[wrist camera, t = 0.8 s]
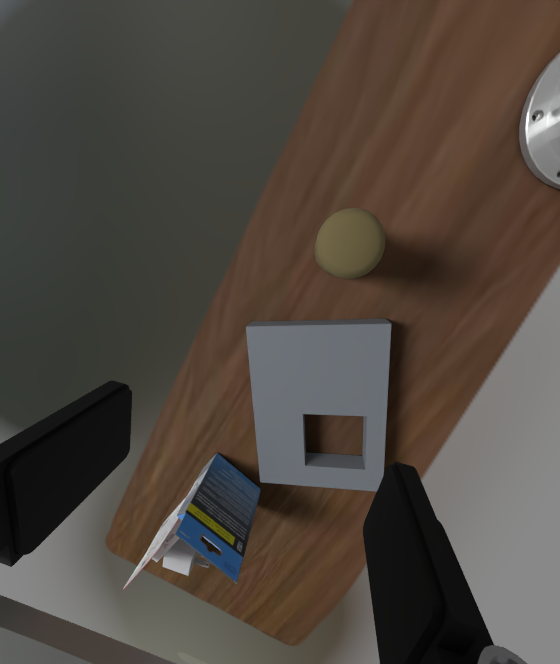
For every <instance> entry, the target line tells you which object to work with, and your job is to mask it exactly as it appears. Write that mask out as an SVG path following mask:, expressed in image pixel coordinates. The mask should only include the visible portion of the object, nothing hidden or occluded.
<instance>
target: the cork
mask: <svg viewBox="0 0 560 664" xmlns="http://www.w3.org/2000/svg"><path fill="white" fill-rule="evenodd" d="M385 240H386V236H385V233H384V229H383V226H382V224H381V223H380V221H379V220H378V219H377V217H376V216H374V215H373V214H371V213H370V212H368V211H367V210H363V209H359V208H348V209H343V210H341V211H339V212H336V213H334V214H333V215H332V216H331V217H329V218H328V219H327V220H326V221H325V222H324V224H323V226H322V227H321V229H320V230H319V233H318V237H317V239H316V243H315V246H314V250H315V258H316V261H317V263H318V265H319V266H320V267H321V269H322V270H323V271H325V272H326V273H328V274H329V275H333V276H336V277H339V278H343V279H353V278H358V277H360V276H363V275H366V274H367V273H368V272H370V271H371V270H372V269H374V268H375V267H376V265H377V264H378V262H379V261H380V260H381V258H382V255H383V253H384V250H385Z"/></svg>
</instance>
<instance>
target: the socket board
mask: <svg viewBox="0 0 560 664" xmlns="http://www.w3.org/2000/svg"><path fill="white" fill-rule="evenodd" d="M246 333H247V344H248V355H249V365H250V376H251V387H252V398H253V409H254V420H255V430H256V441H257V452H258V463H259V474H260V482H262V483H275V484H288V485H301V486H314V487H327V488H340V489H353V490H365V491H377V490H378V488H379V485H380V483H381V480H382V478H383V476H384V458H385V438H386V419H387V399H388V380H389V360H390V340H391V323H390V322H389V321H388V320H387V319H351V320H306V321H261V322H251V323H249V324H248V325H247V326H246ZM305 414H317V415H346V416H364V421H363V456H359V455H341V454H324V453H306V440H305Z"/></svg>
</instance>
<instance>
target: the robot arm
mask: <svg viewBox="0 0 560 664" xmlns="http://www.w3.org/2000/svg"><path fill="white" fill-rule="evenodd" d="M532 119H533V120H532ZM519 141H520V146H521V151H522V155H523V157H524V160H525V162H526V164H527V166H528V167H529V169H530V170H531V171H532V172H533V174H534V175H535V176H536V177H537V178H539V179H540V180H541V181H543V182H544V183H545V184H547V185H550V186H552V187H554V188H556V189H560V52H559V53H558V54H557V55H556V56H555V57H554V58H553V59H552V60H551V61H550V62H549V63H548V65H547V66H546V67H545V69H544V70H543V71H542V73H541V74H540V75H539V77H538V78H537V80H536V81H535V83H534V85H533V87H532V89H531V91H530V92H529V94H528V97H527V100H526V102H525V105H524V108H523V110H522V115H521V121H520V126H519ZM131 408H132V391H131V390H129V386H128V385H126V384H123V383H119V382H116V381H109V382H107V383H105V384H103V385H102V386H100V387H98V388H96V389H95V390H93V391H91V392H90V393H88V394H86V395H85V396H83V397H81V398H79V399H77V400H76V401H74V402H72V403H70V404H69V405H67V406H65V407H64V408H62V409H60V410H58V411H57V412H55V413H53V414H51V415H50V416H48V417H46V418H45V419H43V420H41V421H39V422H37V423H36V424H34V425H32V426H31V427H29V428H27V429H25V430H24V431H22V432H20V433H18V434H17V435H15V436H13V437H11V438H10V439H8V440H6V441H4V442H3V443H1V444H0V563H3V564H6V565H8V566H10V567H12V566H13V565H14V564H15V563H16V562H17V561H18V560H19V559H20V558H21V557H22V556H23V555H26V554H29V553H31V552H32V551H33V550H35V549H36V548H37V547H38V546H39V545H40V544H41V543H42V542H43V541H44V540H45V539H46V538H47V537H48V536H49V535H50V534H51V533H52V532H53V531H54V530H55V529H56V528H57V527H58V526H59V525H60V524H61V523H62V522H63V521H64V520H65V519H66V517H68V515H70V514H71V513H72V511H74V510H75V509H76V508H77V507H78V506H79V505H80V503H82V502H83V501H84V499H85V498H87V496H88V495H89V494H90V493H91V492H92V491H93V490H94V489H95V488H96V487H97V486H98V485H99V484H100V483H101V482H102V481H103V480H104V479H105V478H106V477H107V476H108V475H109V474H110V473H111V472H112V471H113V470H114V469H115V468H116V467H117V466H118V465H119V464H120V463H121V462H122V461H123V460H124V459H125V458H126V457H127V455H128V453H129V450H130V434H131ZM363 537H364V545H365V552H366V560H367V567H368V575H369V582H370V590H371V598H372V605H373V613H374V621H375V629H376V636H377V643H378V651H379V659H380V664H527V663H526V662H525V661H523V660H522V659H521V658H520V657H519V656H517V655H516V654H514V653H512V652H511V651H509V650H507V649H506V648H504V647H499V646H495V645H494V644H493V642H492V639H491V637H490V634H489V632H488V630H487V628H486V625H485V623H484V621H483V618H482V616H481V614H480V611H479V609H478V607H477V604H476V602H475V600H474V597H473V595H472V593H471V590H470V588H469V586H468V583H467V581H466V579H465V576H464V574H463V572H462V569H461V567H460V565H459V562H458V560H457V558H456V555H455V553H454V551H453V548H452V546H451V544H450V541H449V539H448V537H447V534H446V533H445V530H444V528H443V526H442V524H441V523H440V522H439V521H438V520H437V518H436V516H435V513H434V511H433V508H432V506H431V504H430V501H429V499H428V497H427V494H426V492H425V490H424V487H423V485H422V482H421V480H420V477H419V475H418V473H417V470H416V469H415V467H413V466H409V465H406V464H402V463H399V462H395V463H394V464H393V465H388V466H387V468H386V471H385V473H384V476H383V478H382V480H381V483H380V485H379V488H378V490H377V493H376V495H375V497H374V500H373V502H372V505H371V507H370V510H369V512H368V514H367V517H366V519H365V522H364V526H363ZM0 664H176V663H173V662H171V661H168V660H165V659H163V658H160V657H158V656H155V655H153V654H150V653H148V652H145V651H143V650H140V649H138V648H135V647H133V646H130V645H127V644H125V643H122V642H120V641H117V640H115V639H112V638H109V637H107V636H105V635H102V634H99V633H97V632H94V631H91V630H89V629H87V628H84V627H82V626H79V625H77V624H74V623H71V622H69V621H66V620H63V619H61V618H58V617H56V616H53V615H50V614H48V613H45V612H43V611H40V610H37V609H35V608H32V607H30V606H27V605H25V604H22V603H19V602H17V601H14V600H12V599H9V598H7V597H4V596H1V595H0Z"/></svg>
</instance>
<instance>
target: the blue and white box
mask: <svg viewBox="0 0 560 664" xmlns="http://www.w3.org/2000/svg"><path fill="white" fill-rule="evenodd" d="M260 492H261V489H260V488H259V487H258V486H257V485H255V484H254V483H253V482H252V481H250V480H249V479H248V478H247V477H246V476H244V475H243V474H242V473H241V472H240V471H238V470H237V469H236V468H235V467H234V466H232V465H231V464H230V463H229V462H228V461H226V460H225V459H224V458H223V457H222V456H221V455H219V454H218V453H216V454H215V455H214V456H213V457H212V459H211V460H210V461H209V462H208V463H207V464H206V465H205V466H204V468H203V469H202V471H201V473H200V474H199V476H198V478H197V480H196V481H195V483H194V485H193V487H192V488H191V490H190V492H189V494H188V496H187V497H186V499H185V501H184V503H183V505H182V506H181V508H180V510H179V512H178V514H177V517H178V518H180V519H181V520H182V521H181V523H180V525H179V527H178V529H177V531H176V533H175V535H176V536H178V537H179V538H180V539H182V540H183V541H184V542H186V543H187V544H188V545H189V546H190V547H192V548H193V549H194V550H195V551H197V552H198V553H199V554H200V555H201V556H203V557H204V558H205V559H206V560H208V561H209V562H210V563H212V564H213V565H214V566H215V567H217V568H218V569H219V570H220V571H222V572H223V573H224V574H225V575H227V576H228V577H229V578H230V579H231V580H233V581H234V582H235V583H237V581H238V577H239V573H240V569H241V565H242V561H243V558H244V554H245V550H246V546H247V542H248V538H249V534H250V530H251V526H252V523H253V519H254V515H255V511H256V507H257V503H258V500H259V496H260ZM201 537H204V538H205V539H206V540H208V541H209V542H210V543H211V544H213V545H214V546H215V547H216V548H218V549H219V550H220V551H221V555H218V554H217V553H216V552H214V551H212V552H209V550H208V547H207V545H206V544H204V543H203V542H202V540H201Z"/></svg>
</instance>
